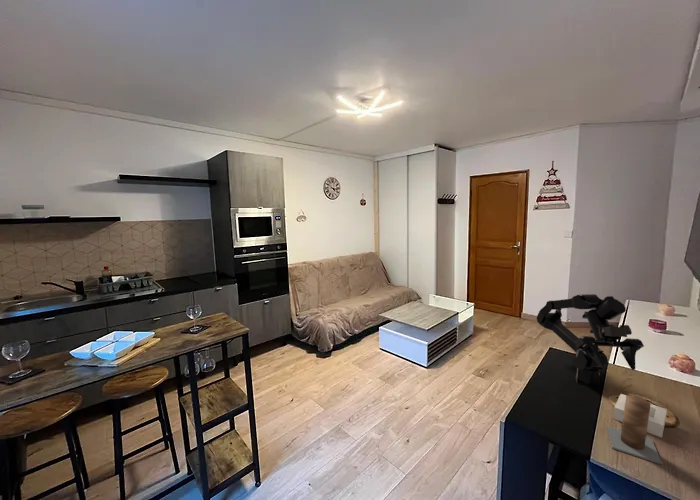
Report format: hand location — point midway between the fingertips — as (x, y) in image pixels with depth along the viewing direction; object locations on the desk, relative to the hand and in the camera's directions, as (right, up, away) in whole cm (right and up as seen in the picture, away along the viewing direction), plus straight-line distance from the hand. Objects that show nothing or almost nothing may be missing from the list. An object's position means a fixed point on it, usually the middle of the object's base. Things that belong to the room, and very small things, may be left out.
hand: (618, 368), depth 101 cm
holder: (+2, -14, -5) cm, 15 cm away
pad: (-10, -16, -15) cm, 24 cm away
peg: (-10, -15, -15) cm, 24 cm away
